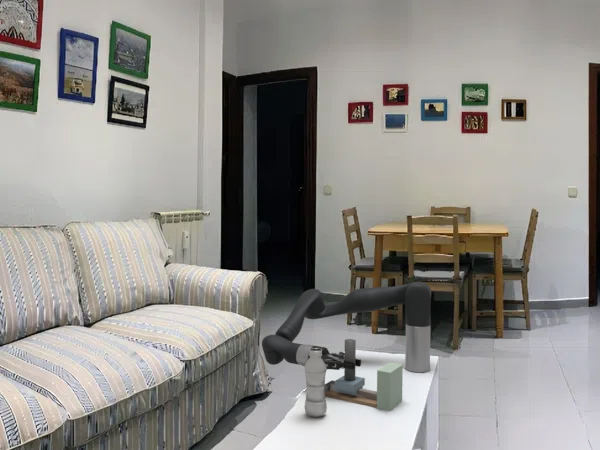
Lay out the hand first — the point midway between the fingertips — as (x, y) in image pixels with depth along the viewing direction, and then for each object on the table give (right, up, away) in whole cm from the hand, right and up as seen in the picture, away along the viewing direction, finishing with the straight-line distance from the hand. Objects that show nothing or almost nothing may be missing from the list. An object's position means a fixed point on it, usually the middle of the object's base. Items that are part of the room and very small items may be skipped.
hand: (357, 364), depth 182 cm
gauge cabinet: (+10, -11, -6) cm, 16 cm away
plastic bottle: (-14, -12, -14) cm, 23 cm away
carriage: (-2, -9, +2) cm, 10 cm away
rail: (-1, -11, +1) cm, 11 cm away
